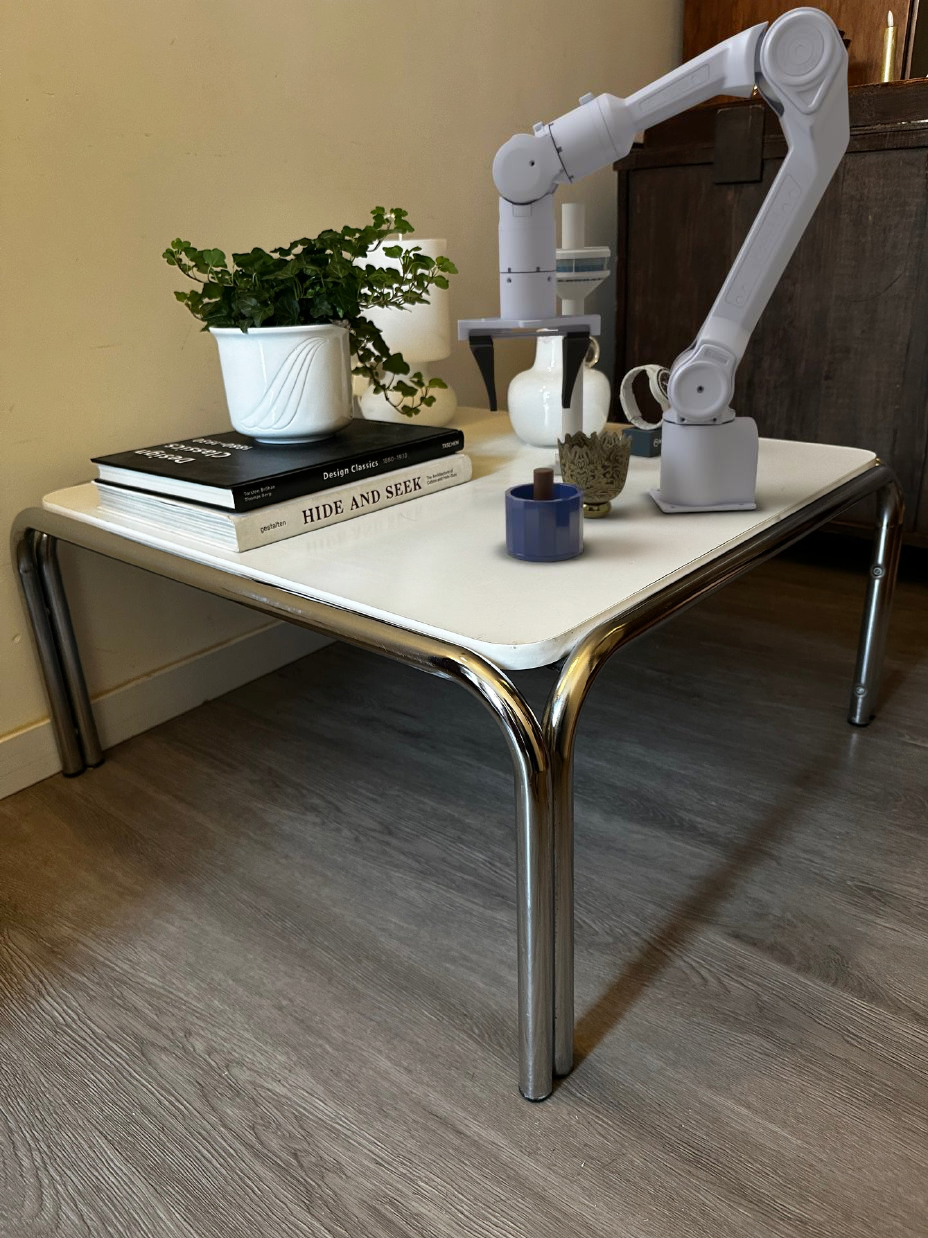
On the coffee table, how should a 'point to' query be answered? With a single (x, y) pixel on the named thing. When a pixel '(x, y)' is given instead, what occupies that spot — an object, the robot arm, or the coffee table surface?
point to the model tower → (576, 295)
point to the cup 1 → (544, 523)
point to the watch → (643, 433)
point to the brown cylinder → (543, 484)
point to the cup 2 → (595, 468)
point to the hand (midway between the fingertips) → (529, 408)
